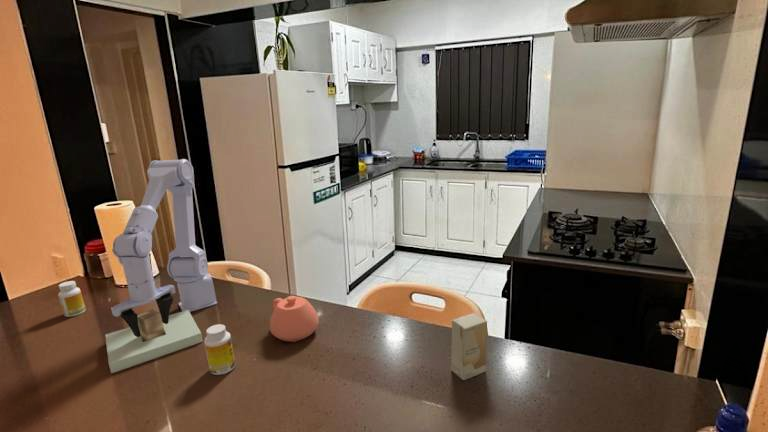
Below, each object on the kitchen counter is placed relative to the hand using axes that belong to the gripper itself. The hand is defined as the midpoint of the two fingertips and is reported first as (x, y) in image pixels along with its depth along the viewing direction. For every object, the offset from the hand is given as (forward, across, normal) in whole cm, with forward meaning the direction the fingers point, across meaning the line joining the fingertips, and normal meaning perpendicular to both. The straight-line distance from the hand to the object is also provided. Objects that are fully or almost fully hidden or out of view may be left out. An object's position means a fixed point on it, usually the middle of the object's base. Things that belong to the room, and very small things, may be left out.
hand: (151, 328), depth 106 cm
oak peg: (+4, 0, 0) cm, 4 cm away
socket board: (+4, 0, 0) cm, 4 cm away
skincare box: (+4, -31, +73) cm, 79 cm away
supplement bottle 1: (+4, +5, -39) cm, 39 cm away
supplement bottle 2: (+4, -3, +25) cm, 26 cm away
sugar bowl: (+4, -22, +28) cm, 36 cm away
